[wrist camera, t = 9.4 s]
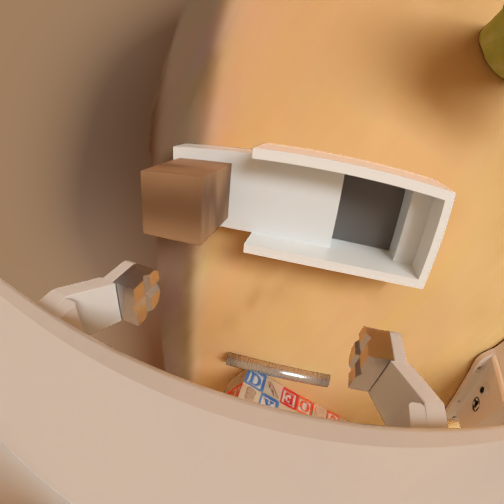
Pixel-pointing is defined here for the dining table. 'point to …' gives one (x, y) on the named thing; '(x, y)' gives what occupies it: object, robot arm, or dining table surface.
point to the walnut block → (185, 199)
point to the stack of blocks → (273, 395)
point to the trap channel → (333, 210)
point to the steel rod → (278, 370)
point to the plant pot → (494, 43)
